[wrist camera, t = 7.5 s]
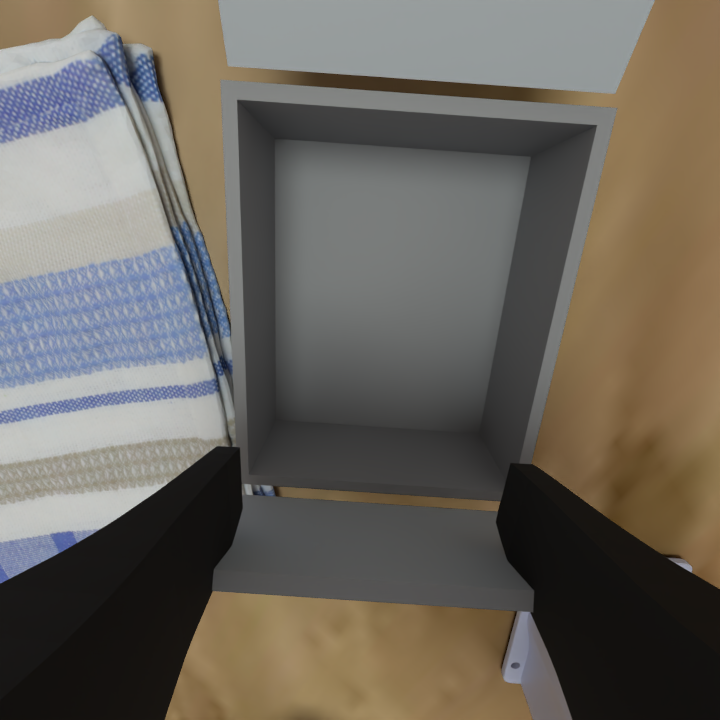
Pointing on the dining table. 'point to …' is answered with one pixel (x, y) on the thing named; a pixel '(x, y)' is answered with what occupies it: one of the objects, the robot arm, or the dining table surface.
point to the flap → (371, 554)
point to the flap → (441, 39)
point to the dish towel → (98, 298)
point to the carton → (399, 281)
